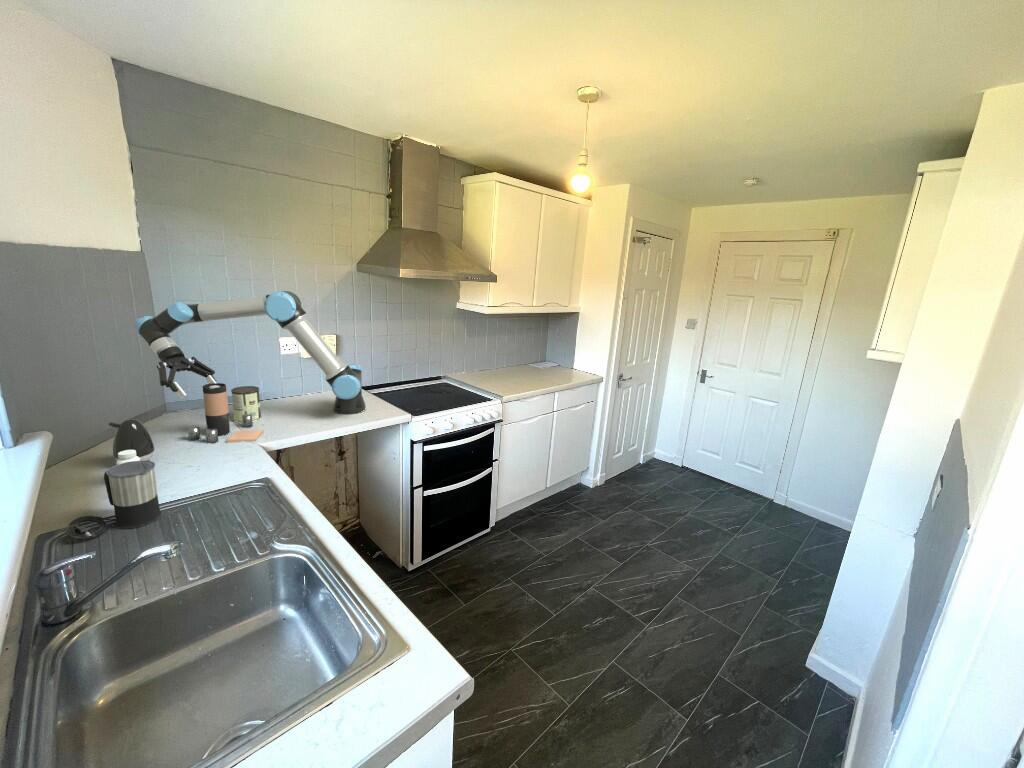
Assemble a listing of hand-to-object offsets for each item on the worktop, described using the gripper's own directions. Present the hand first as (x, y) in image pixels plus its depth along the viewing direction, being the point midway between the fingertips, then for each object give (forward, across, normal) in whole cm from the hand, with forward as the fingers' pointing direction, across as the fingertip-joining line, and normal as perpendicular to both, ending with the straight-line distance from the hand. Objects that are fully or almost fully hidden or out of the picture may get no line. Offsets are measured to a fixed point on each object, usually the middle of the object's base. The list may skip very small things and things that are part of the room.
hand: (201, 393), depth 162 cm
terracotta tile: (+24, -2, +1) cm, 24 cm away
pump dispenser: (+16, +29, -7) cm, 34 cm away
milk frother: (+40, +55, +16) cm, 70 cm away
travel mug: (+16, -1, -7) cm, 17 cm away
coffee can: (+13, -18, -10) cm, 24 cm away
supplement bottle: (+24, +38, +1) cm, 45 cm away
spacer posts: (+16, -1, -6) cm, 18 cm away
